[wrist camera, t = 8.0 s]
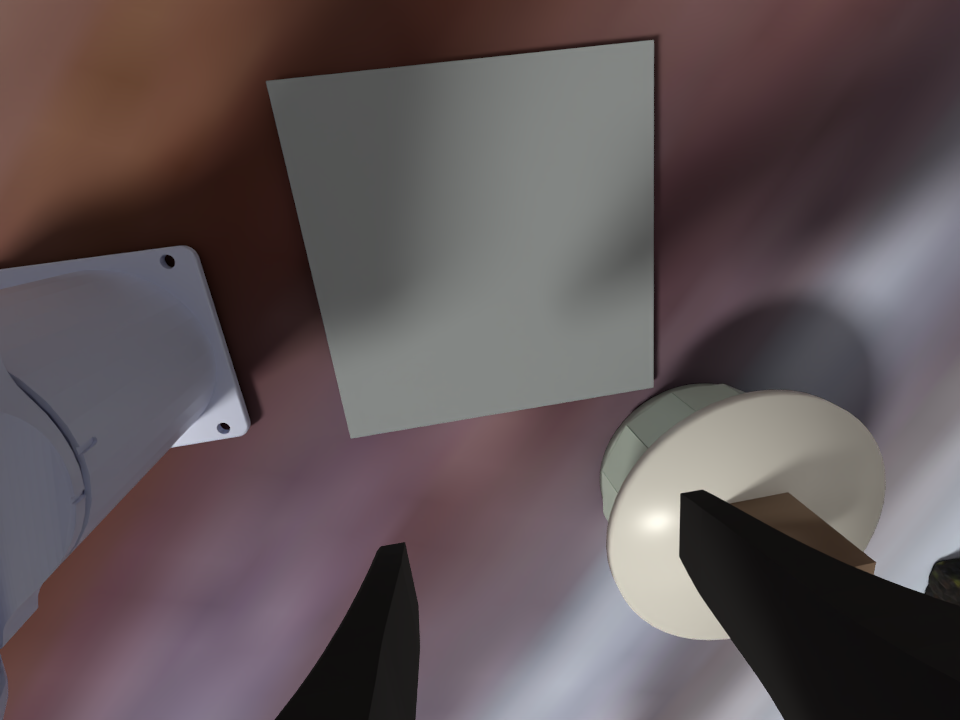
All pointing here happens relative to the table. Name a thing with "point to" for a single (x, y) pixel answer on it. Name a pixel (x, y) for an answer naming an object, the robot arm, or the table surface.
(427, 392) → the mat
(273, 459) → the table surface
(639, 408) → the bowl
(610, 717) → the table surface
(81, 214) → the table surface
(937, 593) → the candle
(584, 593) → the table surface
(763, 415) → the lid
